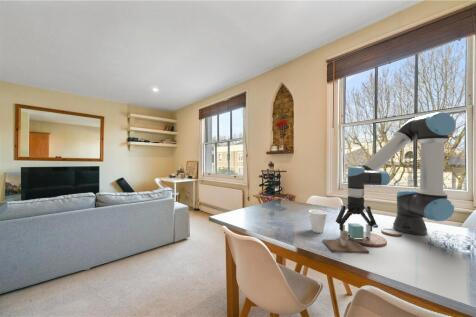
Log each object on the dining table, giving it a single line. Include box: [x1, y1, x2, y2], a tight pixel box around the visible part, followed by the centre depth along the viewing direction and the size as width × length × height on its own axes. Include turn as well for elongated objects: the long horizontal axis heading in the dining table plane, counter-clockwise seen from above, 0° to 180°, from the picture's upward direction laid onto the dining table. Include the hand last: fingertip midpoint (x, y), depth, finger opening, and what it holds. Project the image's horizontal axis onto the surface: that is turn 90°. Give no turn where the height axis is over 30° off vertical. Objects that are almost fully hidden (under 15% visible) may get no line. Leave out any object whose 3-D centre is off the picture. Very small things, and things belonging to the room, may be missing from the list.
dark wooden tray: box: [321, 230, 370, 254], centre depth 95 cm, size 16×12×7 cm
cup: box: [308, 209, 328, 234], centre depth 115 cm, size 10×10×11 cm
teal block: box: [347, 222, 364, 239], centre depth 106 cm, size 5×5×7 cm
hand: (355, 237), depth 106 cm, fingers open, 12 cm apart
